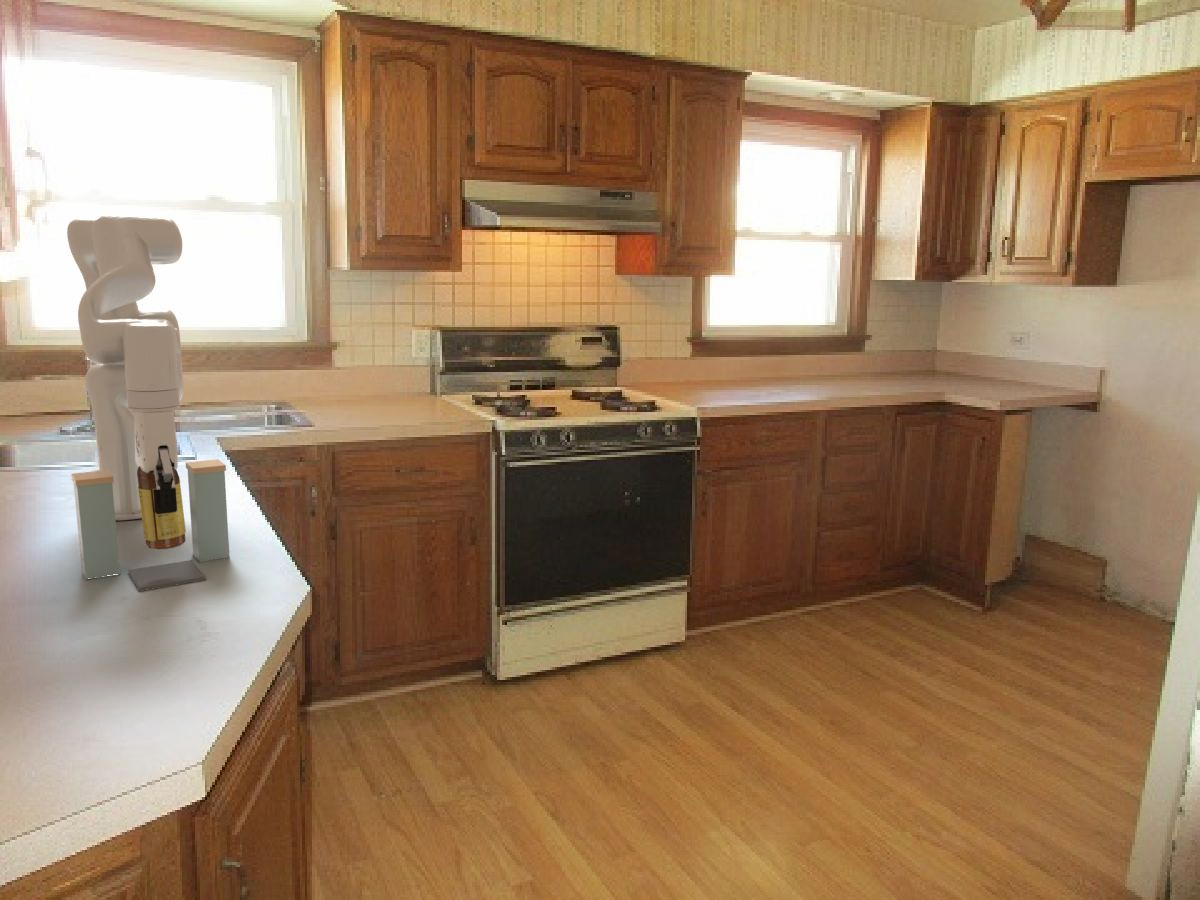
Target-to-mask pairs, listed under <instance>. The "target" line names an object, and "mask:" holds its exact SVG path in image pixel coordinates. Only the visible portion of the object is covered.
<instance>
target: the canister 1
mask: <svg viewBox="0 0 1200 900" xmlns="http://www.w3.org/2000/svg"><path fill="white" fill-rule="evenodd" d="M70 477H71V481H72V483H73V490H74V491H73V492H74V502H75V513H76V521H77V523H76V524H77V532H78V533H77V535H78V542H79V543H78V545H79V553H80V556H79V557H80V563H81V572H83V573H82V575H83V574H84V575H83V577H84V576H85V577H84V579H85V578H86V579H88V578H95V577H102V576H107V575H113V574H120V575H121V570H120V558H119V548H118V546H119V545H118V535H117V534H118V533H117V522H116V521H117V520H115V509H114V497H113V485H112V483H114V479H113V476H112V474H111V473H110V472H109V470H104V471H99V470H96V471H85V472H83V471H82V472H75V473H71V474H70ZM86 579H85V580H86Z"/></svg>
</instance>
